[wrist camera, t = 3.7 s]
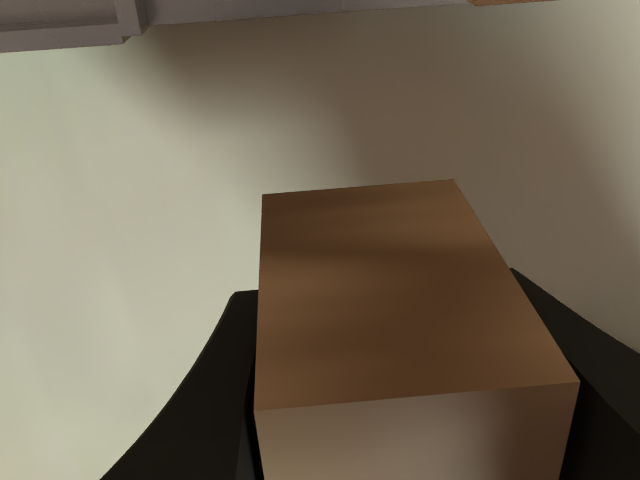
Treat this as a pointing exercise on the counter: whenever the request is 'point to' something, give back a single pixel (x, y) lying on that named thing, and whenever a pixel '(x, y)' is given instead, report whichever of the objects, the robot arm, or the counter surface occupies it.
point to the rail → (148, 17)
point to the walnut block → (400, 344)
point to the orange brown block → (500, 2)
